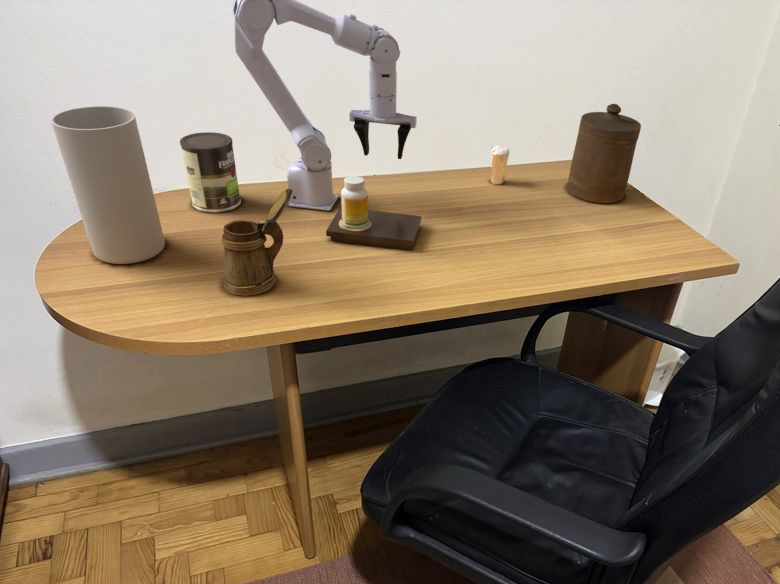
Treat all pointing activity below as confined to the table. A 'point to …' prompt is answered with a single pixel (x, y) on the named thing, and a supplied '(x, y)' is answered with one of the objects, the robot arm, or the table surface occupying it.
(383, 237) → the stand
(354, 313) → the table surface
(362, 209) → the supplement bottle
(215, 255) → the table surface
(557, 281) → the table surface
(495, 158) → the milkshake
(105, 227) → the cylinder vase
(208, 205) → the coffee can
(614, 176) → the wooden container
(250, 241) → the wooden mug
